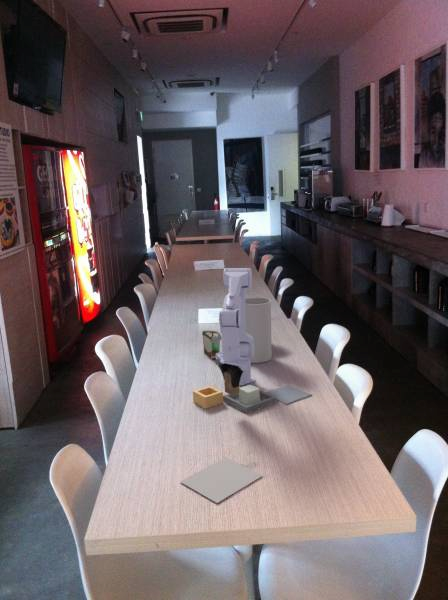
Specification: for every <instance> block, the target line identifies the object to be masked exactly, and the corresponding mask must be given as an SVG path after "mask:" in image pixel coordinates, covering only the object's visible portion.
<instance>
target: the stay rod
mask: <svg viewBox="0 0 448 600" xmlns="http://www.w3.org/2000/svg"><path fill="white" fill-rule="evenodd" d="M224 378H225V381H224V392H225V393H226V394H230V395H233V394H236V393H239V388H240V386H238V387H235V388H233V386H232V381H231V375H230V372H229V371H225V372H224ZM224 378H223V379H224Z"/></svg>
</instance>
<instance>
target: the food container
mask: <svg viewBox="0 0 448 600" xmlns="http://www.w3.org/2000/svg"><path fill="white" fill-rule="evenodd" d="M201 335H202V344H203V354H204V355H205V356H207V358H208V359H210V360H211V361H214V360H217V359H216V353H220V351H221V350H220V348H221V341H222V334H221V332H219V331H216V330H202V331H201Z"/></svg>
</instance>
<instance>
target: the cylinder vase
mask: <svg viewBox="0 0 448 600" xmlns="http://www.w3.org/2000/svg"><path fill="white" fill-rule="evenodd" d="M246 332H247V333H248V334H250V335H251V336H252V337H253V339H254V356H253V358H251V364H261V363H266V362H269V361H270V360H271V359H272V353H273V351H272V300H271V299H270V298H268V297H258V296H257V297H256V296H254V297H251V296H250V297H246Z"/></svg>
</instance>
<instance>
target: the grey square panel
mask: <svg viewBox="0 0 448 600" xmlns="http://www.w3.org/2000/svg"><path fill="white" fill-rule="evenodd" d="M262 476H264V474H262V473H259V472H257V471H255V470H252V469H251V468H249V467H247V466H244V465H243V464H240V463H239V462H236V461H234V460H232V459H230V458H228V457H224V458H222V459H219V460H217V461H216V462H214V463H211V465H208V466H206V467H205V468H203V469H201V470H199V471H197V472H195V473H194V474H192V475H190V476H187V477H185V478H184V479H182V480H180V481H179V483H182V484H183V485H184V486H186V487H188V488H190V489H192V490H193V491H195V492H197V493H199V494H200V495H202V496H204V497H205V498H207V499H209V500H211V501H213V502H214V503H216V504H218V503H220V502H221V501H223V500H225V499H227V498H228V497H230V496H231V495H233V494H235V493H236V492H238V491H240V490H241V489H243V488H245V487H247V486H248V485H250V484H251V483H253V482H254V481H257V480H258V479H260V478H261V477H262Z"/></svg>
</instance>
